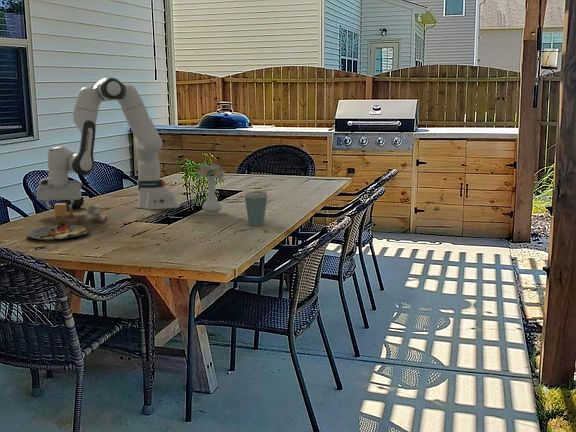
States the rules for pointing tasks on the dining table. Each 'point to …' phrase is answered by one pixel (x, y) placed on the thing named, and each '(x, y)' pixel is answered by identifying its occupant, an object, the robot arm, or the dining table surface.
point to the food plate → (58, 232)
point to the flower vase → (211, 187)
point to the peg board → (84, 217)
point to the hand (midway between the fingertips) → (59, 209)
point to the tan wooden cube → (60, 209)
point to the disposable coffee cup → (256, 207)
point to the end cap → (74, 203)
